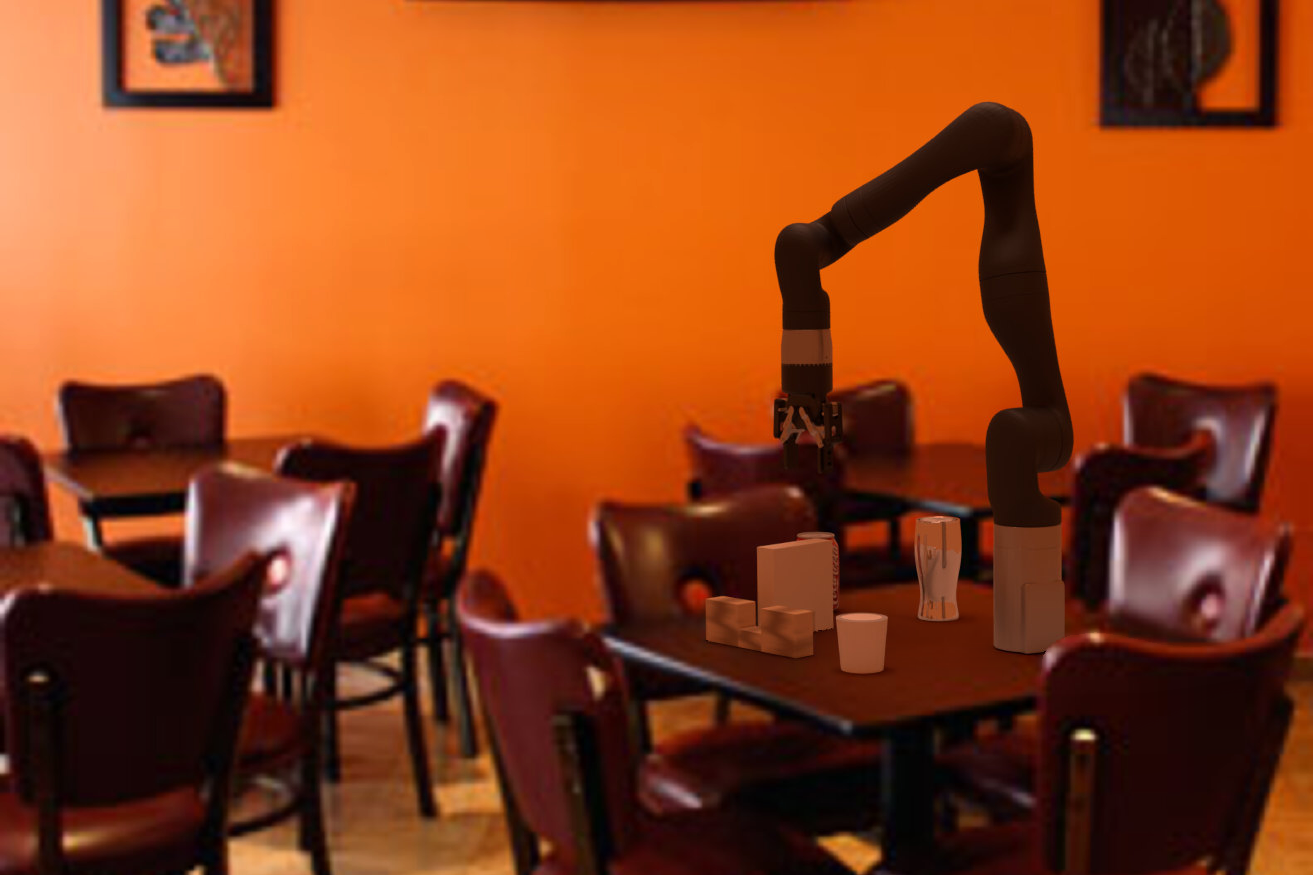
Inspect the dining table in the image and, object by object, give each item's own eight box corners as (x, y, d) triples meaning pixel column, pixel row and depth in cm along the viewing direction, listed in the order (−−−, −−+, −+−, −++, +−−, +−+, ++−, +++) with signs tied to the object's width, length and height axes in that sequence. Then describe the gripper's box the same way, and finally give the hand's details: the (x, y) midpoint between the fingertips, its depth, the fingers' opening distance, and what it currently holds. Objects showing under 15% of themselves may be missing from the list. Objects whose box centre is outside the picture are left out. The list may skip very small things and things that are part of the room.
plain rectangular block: (833, 628, 279) (832, 540, 278) (774, 639, 272) (773, 549, 270) (816, 625, 282) (815, 538, 281) (758, 636, 274) (757, 546, 273)
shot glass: (854, 661, 255) (854, 609, 255) (898, 667, 251) (898, 615, 250) (825, 670, 250) (825, 617, 249) (869, 676, 246) (869, 622, 245)
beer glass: (964, 621, 283) (964, 521, 281) (917, 622, 283) (917, 522, 281) (958, 613, 289) (957, 515, 288) (912, 614, 290) (911, 516, 288)
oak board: (813, 654, 260) (812, 611, 260) (795, 658, 258) (795, 614, 258) (723, 637, 274) (723, 595, 273) (706, 640, 272) (705, 598, 271)
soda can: (839, 607, 296) (838, 531, 295) (839, 615, 289) (838, 537, 288) (794, 607, 297) (793, 531, 296) (793, 615, 290) (792, 537, 289)
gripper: (856, 361, 273) (857, 473, 275) (799, 358, 286) (800, 465, 287) (814, 363, 270) (815, 476, 271) (758, 360, 282) (759, 469, 283)
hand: (808, 471), depth 279 cm, fingers open, 8 cm apart
